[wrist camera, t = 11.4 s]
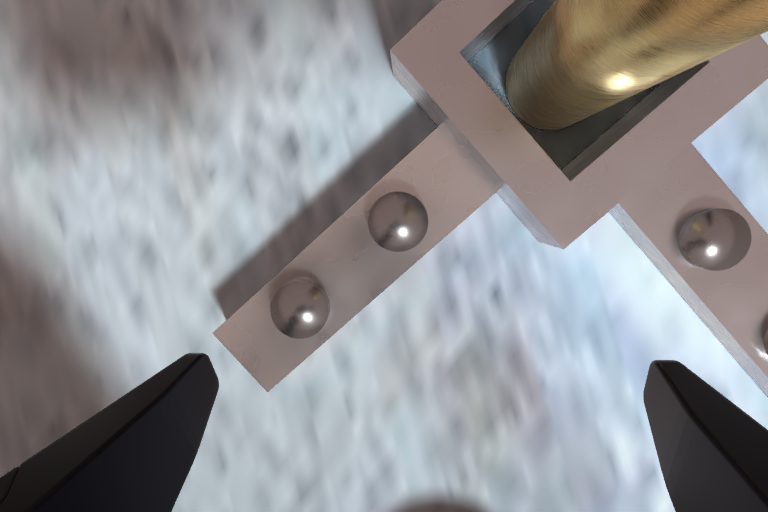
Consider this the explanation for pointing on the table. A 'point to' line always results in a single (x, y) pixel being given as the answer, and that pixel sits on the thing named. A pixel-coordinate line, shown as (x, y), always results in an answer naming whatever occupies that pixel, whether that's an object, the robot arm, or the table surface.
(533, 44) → the gold metal cylinder
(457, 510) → the table surface
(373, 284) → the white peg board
